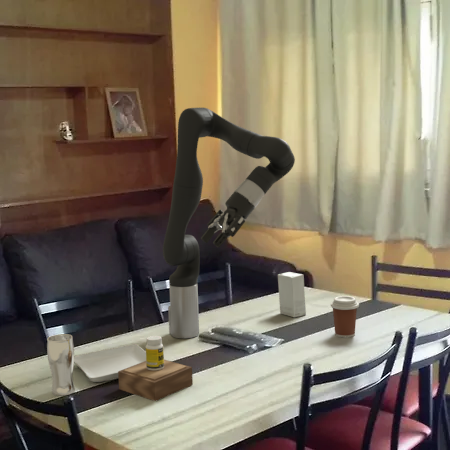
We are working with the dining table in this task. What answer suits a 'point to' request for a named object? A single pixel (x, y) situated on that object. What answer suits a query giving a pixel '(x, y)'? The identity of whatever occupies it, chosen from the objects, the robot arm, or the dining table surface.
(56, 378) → the beer glass
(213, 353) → the dining table surface
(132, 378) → the pedestal
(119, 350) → the salad plate
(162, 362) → the supplement bottle
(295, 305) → the skincare box
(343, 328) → the coffee cup
